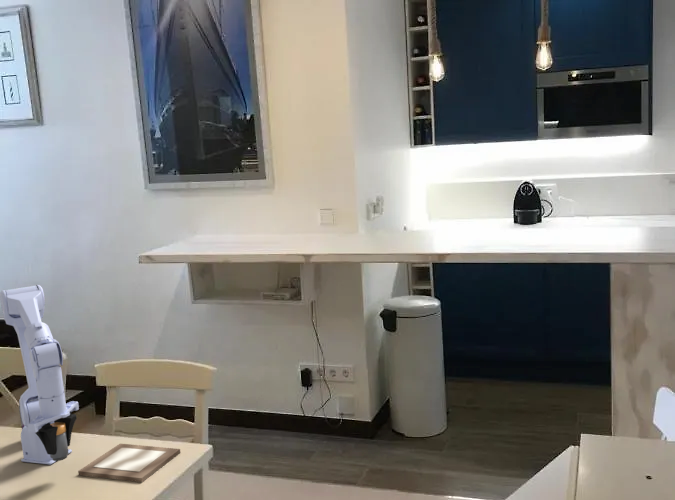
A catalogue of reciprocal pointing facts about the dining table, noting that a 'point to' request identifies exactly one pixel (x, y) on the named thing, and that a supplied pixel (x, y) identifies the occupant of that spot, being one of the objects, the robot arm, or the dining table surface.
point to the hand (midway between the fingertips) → (58, 449)
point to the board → (129, 462)
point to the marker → (60, 442)
